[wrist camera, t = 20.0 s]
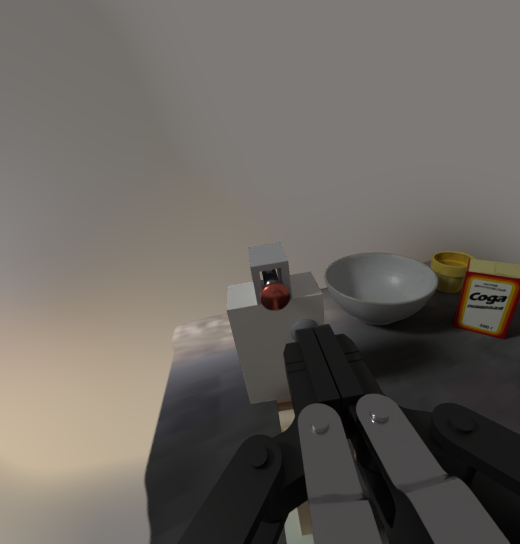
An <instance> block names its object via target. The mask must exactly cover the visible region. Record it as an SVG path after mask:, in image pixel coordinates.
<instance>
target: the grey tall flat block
mask: <svg viewBox="0 0 520 544" xmlns="http://www.w3.org/2000/svg"><path fill="white" fill-rule="evenodd" d="M248 250H249V259H250V268H251V273H252V279H253V282H247V283H242V284H236V285H230V286H228V295H227V313H228V317H229V321H230V325H231V329H232V333H233V337H234V341H235V345H236V349H237V353H238V357H239V361H240V365H241V369H242V373H243V377H244V381H245V384H246V388H247V392H248V396H249V400H250V404H256V403H262V402H267V401H273V400H276V399H278V398H283V397H289V396H291V395H290V391H289V386H288V381H287V376H286V369H285V362H284V356H283V352H284V349H285V345H286V344H287V343H293V342H296V337H295V330H297V329H303V328H309V327H314V326H320V325H324V311H323V293H322V291H321V290H320V288H319V286H318V284H317V283H316V281H315V279H314V277H313V275H312V274H311V272H307V273H301V274H294V275H289V265H288V260H287V257H286V255H285V253H284V250H283V248H282V246H281V243H280V242H279V243H273V244H267V245H261V246H255V247H249V248H248ZM272 269H277V273H278V280H279V283H282V284H284V285H285V286H286V287H287V288H288V290H289V293H290V301H289V303H288V305H287V306H286V307H284V308H283V309H281V310H277V311H271V310H268V309H266V308H265V307H264V306H263V305H262V303H261V299H260V292H261V290H262V288H263V287H264V286H265V285H264V280H260V274H259V272H260V271H266V270H272Z"/></svg>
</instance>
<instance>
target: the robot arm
mask: <svg viewBox="0 0 520 544" xmlns="http://www.w3.org/2000/svg"><path fill="white" fill-rule="evenodd" d="M295 337H296V342H293V343H287V344H286V345H285V349H284V352H283V356H284V362H285V369H286V376H287V381H288V386H289V391H290V395H291V400H292V405H293V410H294V414H295V417H294V420H293V422H292V424H291V425H290V426H289V428H287V429H286V430H285V431H284V432H282V433H280V434H279V435H277V436H275V437H273V438H271V437H269V436H266V435H255V436H252V437H250V438H248V439H247V440H245V441H244V442H243V443H242V445H241V446H240V447H239V449H238V451H237V452H236V454H235V455H234V457H233V458H232V460H231V461H230V463H229V465H228V466H227V468H226V469H225V471H224V472H223V474H222V475H221V477H220V479H219V480H218V482H217V483H216V485H215V486H214V488H213V489H212V491H211V493H210V494H209V496H208V497H207V499H206V500H205V502H204V503H203V505H202V507H201V508H200V510H199V511H198V513H197V514H196V516H195V517H194V519H193V521H192V522H191V524H190V525H189V527H188V528H187V530H186V531H185V533H184V535H183V536H182V538H181V539H180V541H179V542H178V544H277V541H278V539H279V537H280V534H281V532H282V530H283V527H284V525H285V522H286V520H287V518H288V515H289V513H290V512H291V511H293V510H294V509H296V508H297V507H299V506H300V505H301V504H303V503H304V502H306V501H307V500H308V504H309V511H310V518H311V525H312V533H313V540H314V544H382V542H381V538H380V535H379V532H378V529H377V525H376V522H375V519H374V516H373V512H372V510H371V507H370V504H369V502H368V500H367V498H366V496H364V494H363V492H362V490H361V487H360V483H359V480H358V476H357V473H356V470H355V466H354V463H353V459H352V456H351V452H350V449H349V446H348V442H347V439H351V442H352V444H353V447H354V450H355V462H356V464H357V467H358V469H359V471H360V473H361V476H362V478H363V480H364V482H365V485H366V487H367V489H368V491H369V494H370V496H371V498H372V501H373V503H374V505H375V507H376V510H377V512H378V514H379V516H380V519H381V521H382V523H383V525H384V528H385V530H386V533H387V536H388V540H389V544H520V435H519V434H517V433H515V432H513V431H511V430H509V429H507V428H506V427H504V426H502V425H500V424H498V423H496V422H494V421H492V420H490V419H488V418H486V417H484V416H482V415H480V414H478V413H476V412H474V411H472V410H470V409H468V408H466V407H463V406H461V405H458V404H453V403H443V404H440V405H438V406H436V407H435V409H434V410H433V412H425V411H418V410H411V409H406V408H403V407H401V406H398V405H397V404H396V403H395V402H394V401H392V400H391V399H389V398H388V397H386V396H385V395H384V394H383V392H382V391H381V389H380V387H379V385H378V384H377V382H376V380H375V378H374V377H373V375H372V373H371V372H370V370H369V368H368V366H367V365H366V363H365V361H363V358H362V356H361V354H360V353H359V351H358V349H357V347H356V346H355V344H354V342H353V341H352V340H351V339H349V338H348V337H347V336H346V335H344V334H339V335H334V333H333V331H332V329H331V327H330V325H329V324H326V325H320V326H314V327H309V328H303V329H297V330H295Z"/></svg>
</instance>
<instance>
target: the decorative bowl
mask: <svg viewBox="0 0 520 544" xmlns="http://www.w3.org/2000/svg"><path fill="white" fill-rule="evenodd" d="M324 277H325V282H326V285H327V288H328V290H329V292H330V294H331V295H332V297H333V298H334V300H335V301H336V302H337V304H338V305H339V306H340V307H341V308H342V309H344V310H345V311H346V312H347V313H349V314H350V315H352V316H354V317H356V318H357V319H359V320H360V321H362V322H365V323H368V324H372V325H387V324H390V323H393V322H396V321H400V320H403V319H405V318H407V317H410V316H411V315H413V314H415V313H416V312H418V311H419V310H420V309H421V308H423V307H424V306H425V305H426V304H427V302H428V301H429V300H430V299H431V297H432V296H433V295H434V293H435V291H436V289H437V287H438V277H437V275H436V273H435V272H434V271H433V270H432V269H431V268H430V267H428V266H427V265H425V264H424V263H422V262H420V261H418V260H415V259H412V258H409V257H406V256H401V255H396V254H389V253H361V254H355V255H350V256H346V257H343V258H341V259H338V260H337V261H335V262H333V263H332V264H331V265H329V267H328V268H327V269H326V271H325V276H324Z"/></svg>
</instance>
